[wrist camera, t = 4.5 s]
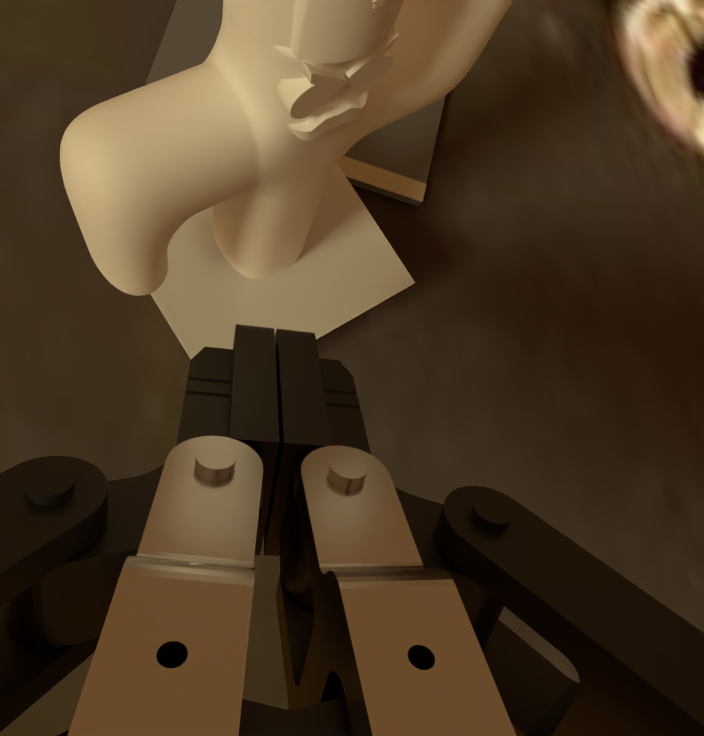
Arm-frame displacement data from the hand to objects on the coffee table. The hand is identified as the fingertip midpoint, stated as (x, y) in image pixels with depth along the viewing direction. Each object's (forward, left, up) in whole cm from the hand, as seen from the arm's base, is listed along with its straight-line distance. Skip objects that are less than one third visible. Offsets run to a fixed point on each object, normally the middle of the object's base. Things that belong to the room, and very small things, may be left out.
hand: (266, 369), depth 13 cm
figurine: (+1, -6, -10) cm, 11 cm away
